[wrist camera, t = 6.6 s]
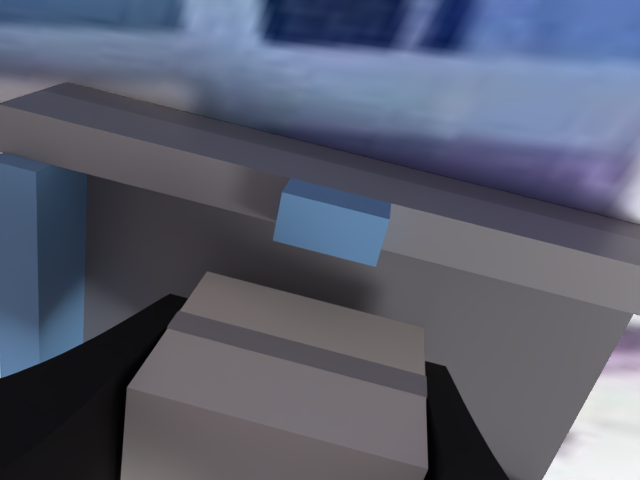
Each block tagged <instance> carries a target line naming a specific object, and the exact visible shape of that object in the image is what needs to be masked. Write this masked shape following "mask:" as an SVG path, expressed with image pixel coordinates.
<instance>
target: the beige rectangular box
mask: <svg viewBox="0 0 640 480" xmlns="http://www.w3.org/2000/svg"><path fill="white" fill-rule="evenodd" d="M426 399H427V376H425V352H424V328H423V327H419V326H415V325H411V324H407V323H403V322H400V321H396V320H392V319H388V318H384V317H380V316H377V315H373V314H369V313H365V312H361V311H357V310H354V309H350V308H346V307H342V306H338V305H334V304H331V303H327V302H323V301H319V300H315V299H311V298H308V297H304V296H300V295H296V294H292V293H288V292H285V291H281V290H277V289H273V288H269V287H265V286H262V285H258V284H254V283H250V282H246V281H242V280H239V279H235V278H231V277H227V276H223V275H219V274H216V273H212V272H208V271H207V272H206V274H205V275H204V277H203V278H202V279H201V281H200V282H199V284H198V285H197V287H196V288H195V290H194V291H193V292H192V294H191V295H190V297H189V298H188V300H187V301H186V303H185V304H184V306H183V307H182V308H181V310H180V311H178V312H177V313H176V315H175V316H174V318H173V319H172V320H171V322H170V323H169V325H168V326H167V329H166V332H165V333H164V335H163V336H162V337H161V339H160V340H159V342H158V343H157V345H156V346H155V348H154V349H153V350H152V352H151V353H150V355H149V356H148V358H147V359H146V361H145V362H144V363H143V365H142V366H141V368H140V369H139V371H138V372H137V374H136V375H135V377H134V378H133V379H132V381H131V382H130V384H129V385H128V387H127V394H126V409H125V423H124V437H123V451H122V465H121V479H120V480H424V478H425V475H426V473H427V471H428V450H427V417H426Z"/></svg>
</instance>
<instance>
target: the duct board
mask: <svg viewBox="0 0 640 480" xmlns="http://www.w3.org/2000/svg"><path fill="white" fill-rule="evenodd" d="M0 152H3V154H1V155H0V374H1V378H3V377H6V376H9V375H11V374H14V373H17V372H19V371H22V370H24V369H27V368H29V367H32V366H34V365H37V364H39V363H42V362H44V361H46V360H49V359H51V358H53V357H56V356H58V355H60V354H62V353H64V352H66V351H68V350H70V349H72V348H74V347H76V346H78V345H80V344H82V343H84V342H86V341H88V340H90V339H92V338H94V337H96V336H98V335H100V334H101V333H103V332H105V331H107V330H108V329H110V328H112V327H114V326H116V325H117V324H119V323H121V322H123V321H124V320H126V319H128V318H129V317H131V316H133V315H134V314H136V313H138V312H139V311H141V310H143V309H144V308H146V307H148V306H149V305H151V304H153V303H154V302H156V301H158V300H159V299H161V298H163V297H165V296H166V295H168V294H174V295H177V296H181V297H185V298H189V297H190V295H191V294H192V292H193V291H194V290H195V288H196V287H197V285H198V284H199V282H200V281H201V279H202V278H203V277H204V275H205V274H206V272H207V271H208V272H212V273H216V274H219V275H223V276H227V277H231V278H235V279H239V280H242V281H246V282H250V283H254V284H258V285H262V286H265V287H269V288H273V289H277V290H281V291H285V292H288V293H292V294H296V295H300V296H304V297H308V298H311V299H315V300H319V301H323V302H327V303H331V304H334V305H338V306H342V307H346V308H350V309H354V310H357V311H361V312H365V313H369V314H373V315H377V316H380V317H384V318H388V319H392V320H396V321H400V322H403V323H407V324H411V325H415V326H419V327H423V328H424V352H425V361H428V362H432V363H436V364H439V365H443V366H446V367H447V369H448V371H449V373H450V375H451V377H452V379H453V381H454V383H455V385H456V387H457V389H458V391H459V393H460V395H461V397H462V399H463V401H464V403H465V405H466V407H467V409H468V411H469V412H470V414H471V416H472V418H473V420H474V422H475V424H476V425H477V427H478V429H479V431H480V432H481V434H482V436H483V438H484V439H485V441H486V443H487V445H488V446H489V448H490V450H491V451H492V453H493V455H494V456H495V458H496V460H497V461H498V463H499V464H500V466H501V467H502V469H503V470H504V472H505V473H506V475H507V477H508V478H509V480H542V479H543V477H544V475H545V474H546V472H547V470H548V468H549V466H550V465H551V463H552V461H553V459H554V457H555V455H556V454H557V452H558V450H559V448H560V446H561V445H562V443H563V441H564V439H565V437H566V435H567V434H568V432H569V430H570V428H571V426H572V425H573V423H574V421H575V419H576V417H577V416H578V414H579V412H580V410H581V408H582V406H583V405H584V403H585V401H586V399H587V397H588V396H589V394H590V392H591V390H592V388H593V386H594V385H595V383H596V381H597V379H598V377H599V376H600V374H601V372H602V370H603V368H604V366H605V365H606V363H607V361H608V359H609V357H610V356H611V354H612V352H613V350H614V348H615V347H616V345H617V343H618V341H619V339H620V337H621V336H622V334H623V332H624V330H625V328H626V327H627V325H628V323H629V321H630V319H631V317H632V316H633V314H636V315H640V225H637V224H633V223H629V222H625V221H621V220H617V219H613V218H609V217H605V216H601V215H597V214H593V213H589V212H585V211H581V210H577V209H573V208H569V207H565V206H561V205H557V204H553V203H549V202H545V201H541V200H536V199H532V198H528V197H524V196H520V195H516V194H512V193H508V192H504V191H500V190H496V189H492V188H488V187H484V186H480V185H476V184H472V183H468V182H464V181H460V180H456V179H452V178H448V177H444V176H440V175H436V174H432V173H428V172H424V171H420V170H416V169H412V168H408V167H404V166H400V165H396V164H392V163H388V162H384V161H380V160H376V159H372V158H368V157H364V156H360V155H356V154H352V153H348V152H344V151H340V150H336V149H332V148H328V147H324V146H320V145H316V144H312V143H308V142H304V141H300V140H296V139H292V138H288V137H284V136H280V135H276V134H272V133H268V132H264V131H260V130H256V129H252V128H248V127H244V126H240V125H236V124H232V123H228V122H224V121H220V120H216V119H212V118H208V117H203V116H199V115H195V114H191V113H187V112H183V111H179V110H175V109H171V108H167V107H163V106H159V105H155V104H151V103H147V102H143V101H139V100H135V99H131V98H127V97H123V96H119V95H115V94H111V93H107V92H103V91H99V90H95V89H91V88H87V87H83V86H79V85H75V84H71V83H67V82H66V83H63V84H60V85H57V86H53V87H50V88H47V89H44V90H41V91H38V92H34V93H31V94H28V95H25V96H22V97H18V98H15V99H12V100H9V101H6V102H2V103H0Z"/></svg>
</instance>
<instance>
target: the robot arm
mask: <svg viewBox="0 0 640 480" xmlns="http://www.w3.org/2000/svg"><path fill="white" fill-rule="evenodd" d="M187 300H188V298H185V297H181V296H177V295H174V294H168V295H166V296H165V297H163V298H161V299H159V300H158V301H156V302H154V303H153V304H151V305H149V306H148V307H146V308H144V309H143V310H141V311H139V312H138V313H136V314H134V315H133V316H131V317H129V318H128V319H126V320H124V321H123V322H121V323H119V324H117V325H116V326H114V327H112V328H110V329H108V330H107V331H105V332H103V333H101V334H100V335H98V336H96V337H94V338H92V339H90V340H88V341H86V342H84V343H82V344H80V345H78V346H76V347H74V348H72V349H70V350H68V351H66V352H64V353H62V354H60V355H58V356H56V357H53V358H51V359H49V360H46V361H44V362H42V363H39V364H37V365H34V366H32V367H29V368H27V369H24V370H22V371H19V372H17V373H14V374H11V375H9V376H6V377H3V378H0V480H120V479H121V465H122V451H123V437H124V423H125V409H126V394H127V387H128V385H129V384H130V382H131V381H132V379H133V378H134V377H135V375H136V374H137V372H138V371H139V369H140V368H141V366H142V365H143V363H144V362H145V361H146V359H147V358H148V356H149V355H150V353H151V352H152V350H153V349H154V348H155V346H156V345H157V343H158V342H159V340H160V339H161V337H162V336H163V335H164V333H165V332H166V329H167V326H168V325H169V323H170V322H171V320H172V319H173V318H174V316H175V315H176V313H177V312H178V311H180V310H181V308H182V307H183V306H184V304H185V303H186V301H187ZM425 376H427V399H426V417H427V450H428V471H427V473H426V475H425V478H424V480H509V478H508V477H507V475H506V473H505V472H504V470H503V469H502V467H501V466H500V464H499V463H498V461H497V460H496V458H495V456H494V455H493V453H492V451H491V450H490V448H489V446H488V445H487V443H486V441H485V439H484V438H483V436H482V434H481V432H480V431H479V429H478V427H477V425H476V424H475V422H474V420H473V418H472V416H471V414H470V412H469V411H468V409H467V407H466V405H465V403H464V401H463V399H462V397H461V395H460V393H459V391H458V389H457V387H456V385H455V383H454V381H453V379H452V377H451V375H450V373H449V371H448V369H447V367H446V366H443V365H439V364H436V363H432V362H428V361H425Z"/></svg>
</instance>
